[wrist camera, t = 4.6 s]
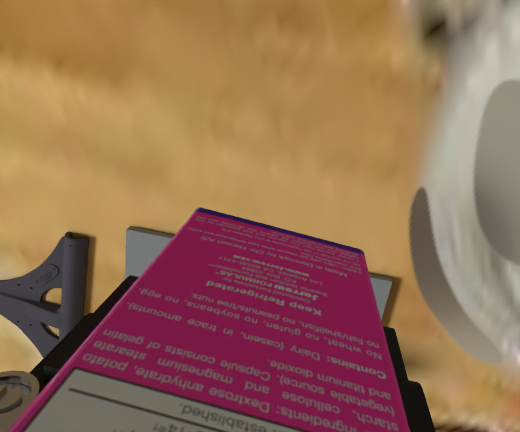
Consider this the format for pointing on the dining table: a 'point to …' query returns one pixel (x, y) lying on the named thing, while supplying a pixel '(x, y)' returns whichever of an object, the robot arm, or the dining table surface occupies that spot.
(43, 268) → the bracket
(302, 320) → the supplement box
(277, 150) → the dining table surface
